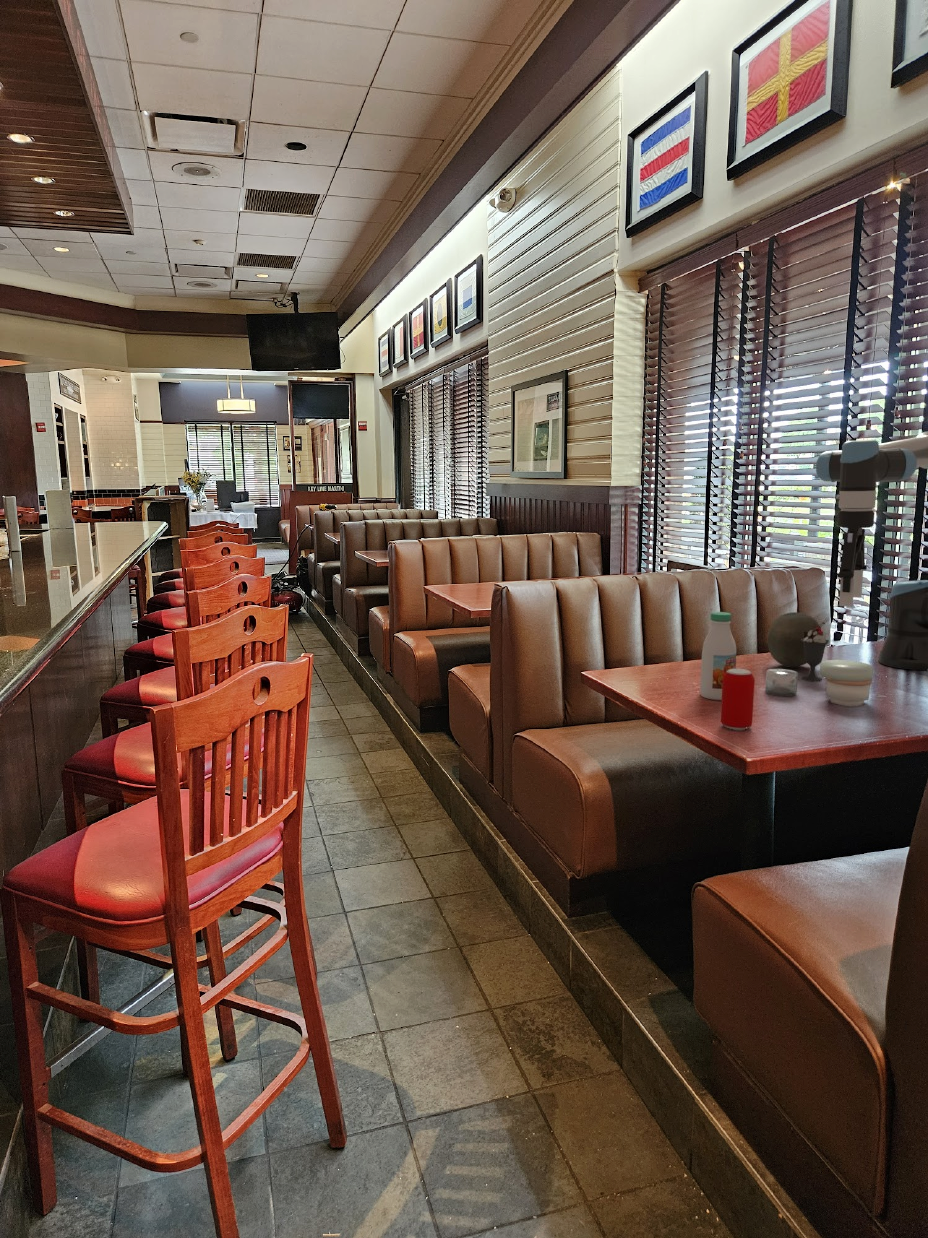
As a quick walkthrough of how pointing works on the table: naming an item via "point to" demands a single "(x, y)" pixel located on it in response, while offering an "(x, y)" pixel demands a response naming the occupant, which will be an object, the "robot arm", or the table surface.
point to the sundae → (813, 650)
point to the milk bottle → (717, 656)
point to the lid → (846, 670)
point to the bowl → (847, 692)
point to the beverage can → (737, 699)
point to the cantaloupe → (790, 638)
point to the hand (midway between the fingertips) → (850, 601)
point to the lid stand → (781, 682)
